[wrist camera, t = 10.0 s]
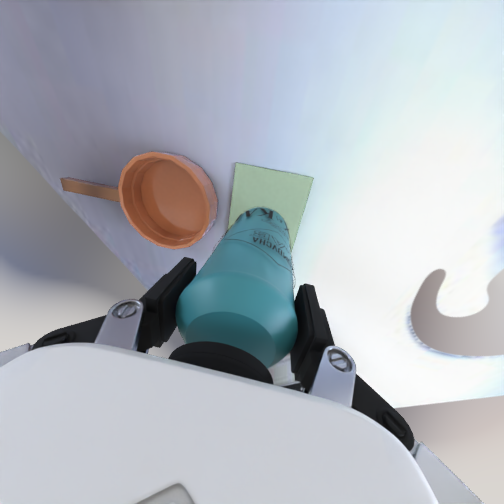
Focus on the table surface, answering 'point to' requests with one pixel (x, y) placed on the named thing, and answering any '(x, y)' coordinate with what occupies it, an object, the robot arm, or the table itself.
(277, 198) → the cloth
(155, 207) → the pan
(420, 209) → the table surface
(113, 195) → the pan handle
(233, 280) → the beverage bottle
